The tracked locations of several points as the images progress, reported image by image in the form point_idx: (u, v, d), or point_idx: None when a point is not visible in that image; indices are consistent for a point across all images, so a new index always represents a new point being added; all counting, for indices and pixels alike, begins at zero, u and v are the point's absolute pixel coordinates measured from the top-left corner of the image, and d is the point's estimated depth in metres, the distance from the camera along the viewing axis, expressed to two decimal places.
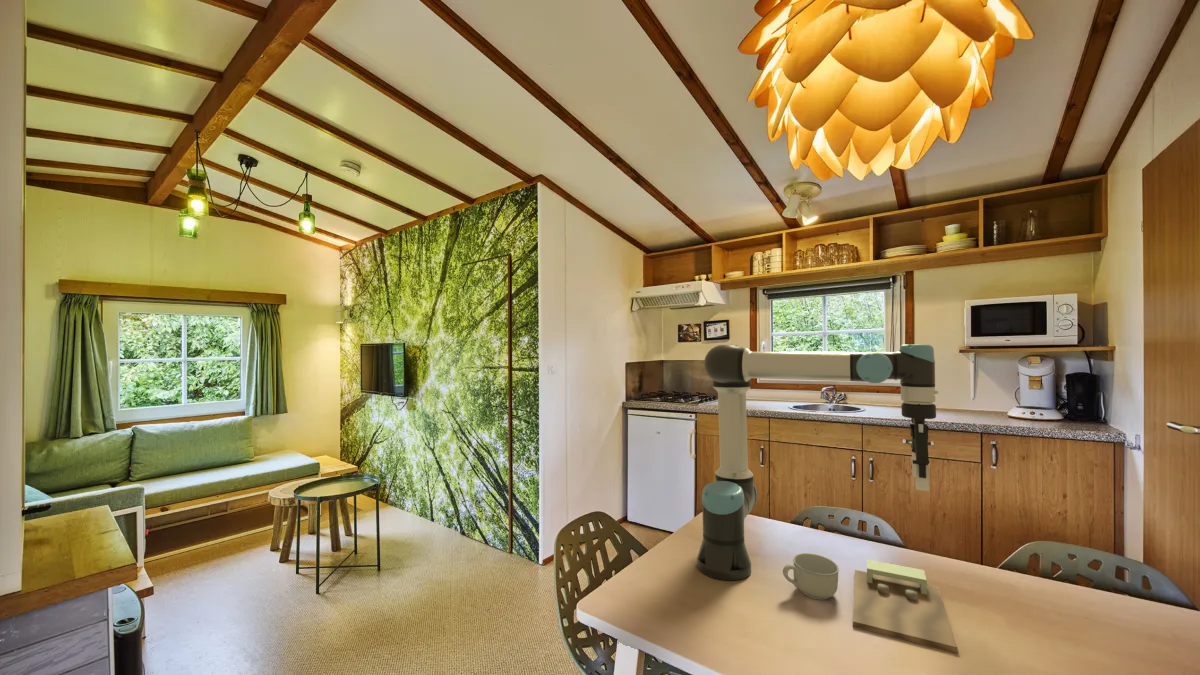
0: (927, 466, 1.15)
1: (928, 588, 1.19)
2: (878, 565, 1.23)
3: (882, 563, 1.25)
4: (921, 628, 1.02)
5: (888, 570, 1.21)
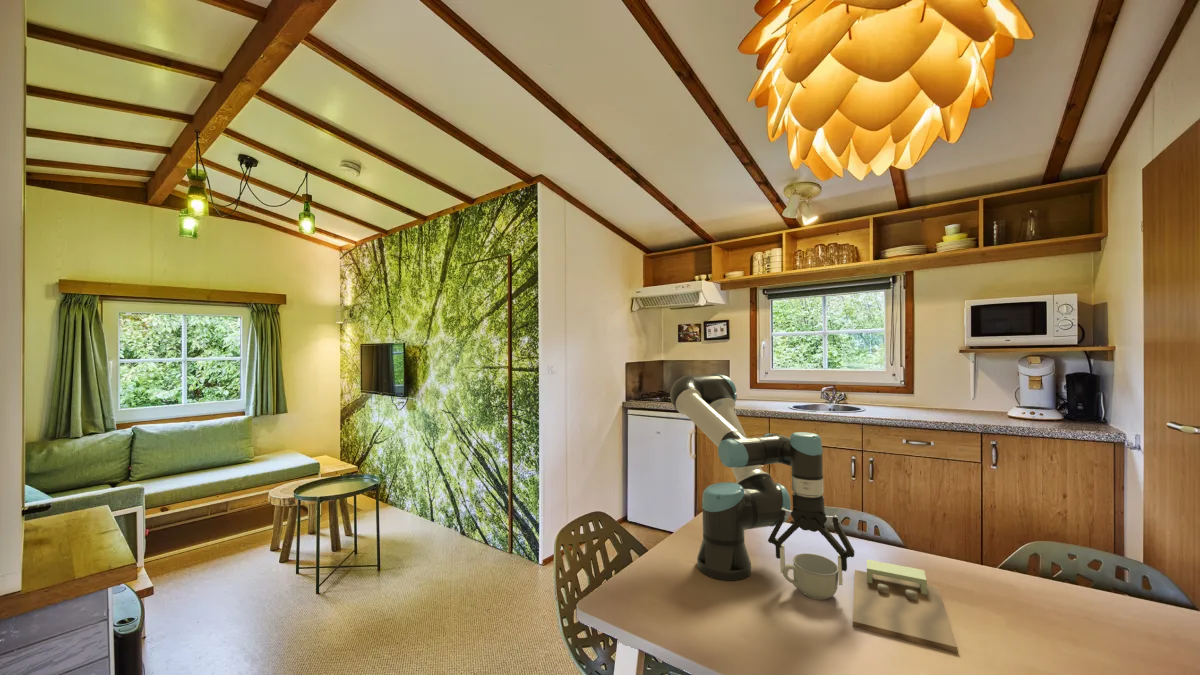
0: (779, 548, 1.22)
1: (928, 588, 1.19)
2: (878, 565, 1.23)
3: (882, 563, 1.25)
4: (921, 628, 1.02)
5: (888, 570, 1.21)
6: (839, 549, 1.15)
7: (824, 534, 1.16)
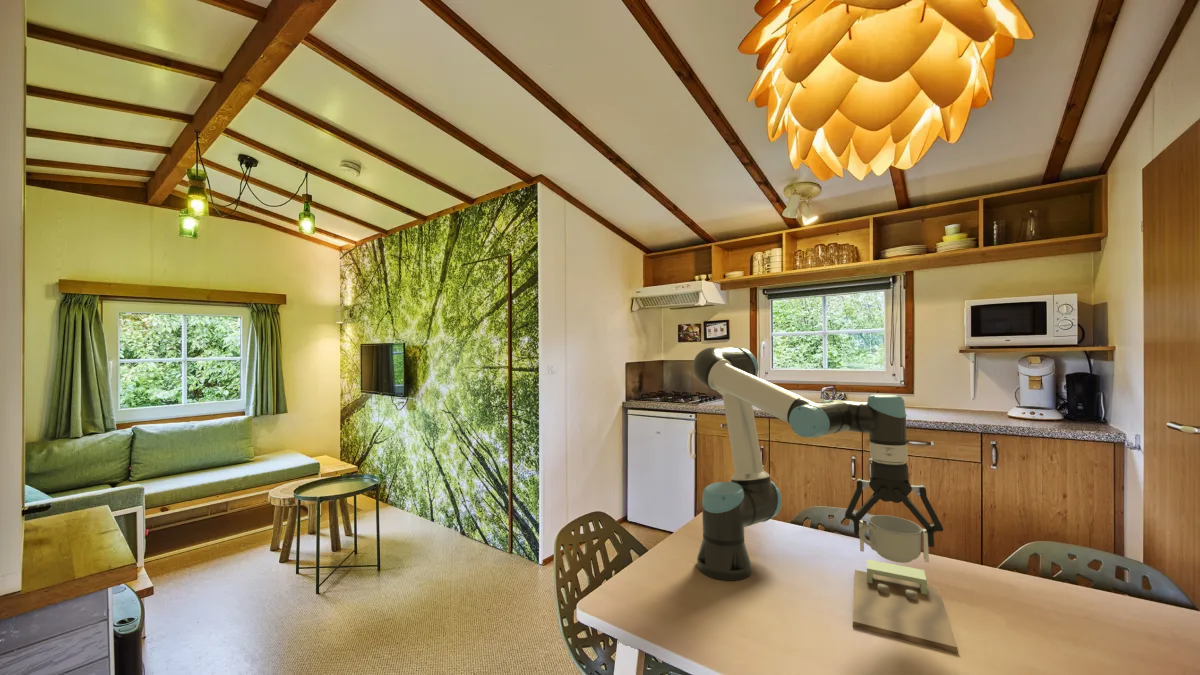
0: (858, 524, 1.10)
1: (928, 588, 1.19)
2: (878, 565, 1.23)
3: (882, 563, 1.25)
4: (921, 628, 1.02)
5: (888, 570, 1.21)
6: (925, 523, 1.03)
7: (908, 506, 1.05)
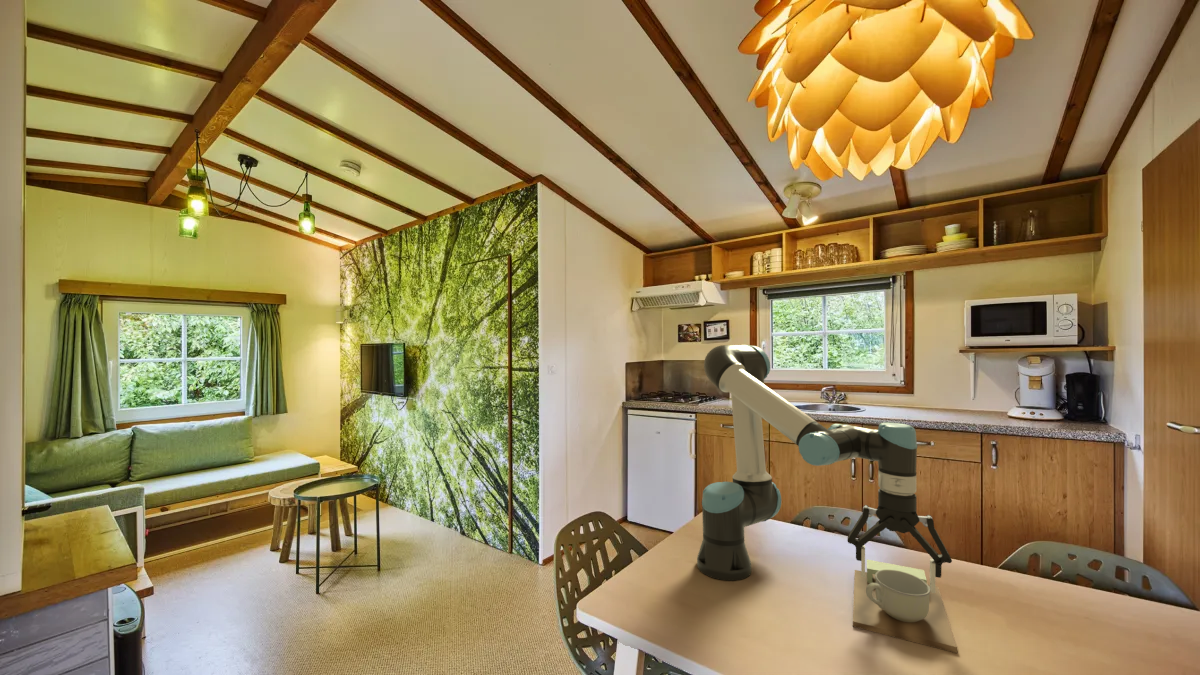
0: (861, 550, 1.10)
1: None
2: (878, 565, 1.23)
3: (882, 563, 1.25)
4: (921, 628, 1.02)
5: None
6: (933, 554, 1.03)
7: (916, 536, 1.04)
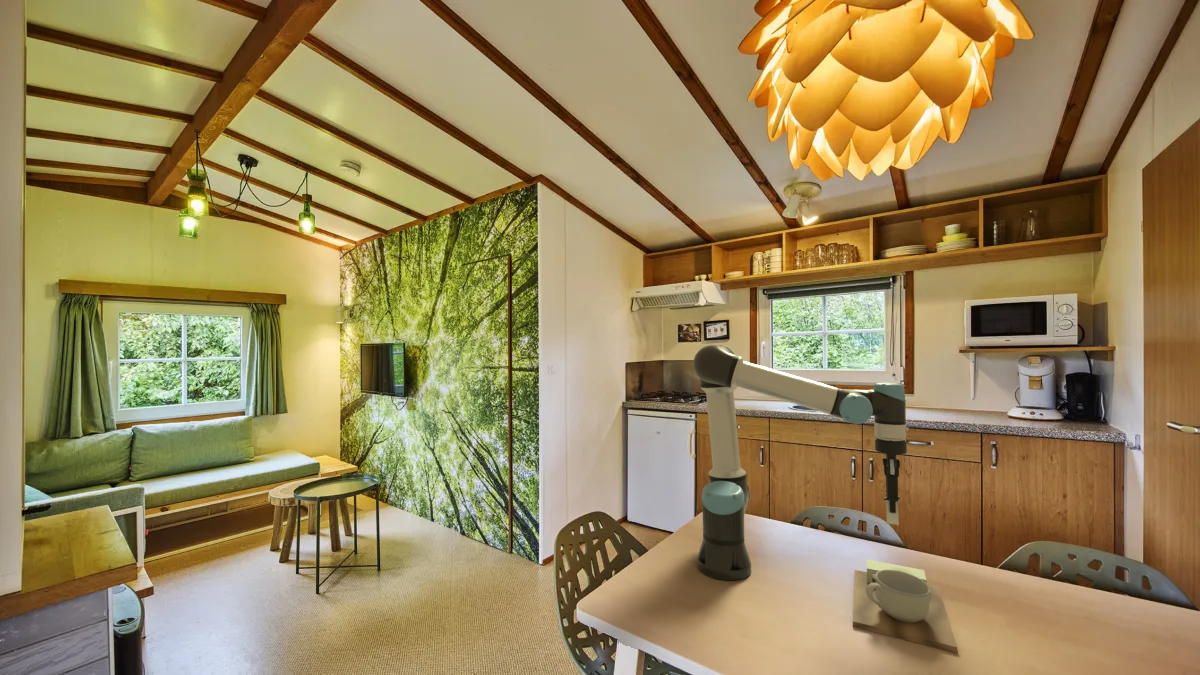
0: (897, 502, 1.27)
1: None
2: (878, 565, 1.23)
3: (882, 563, 1.25)
4: (921, 628, 1.02)
5: None
6: None
7: None
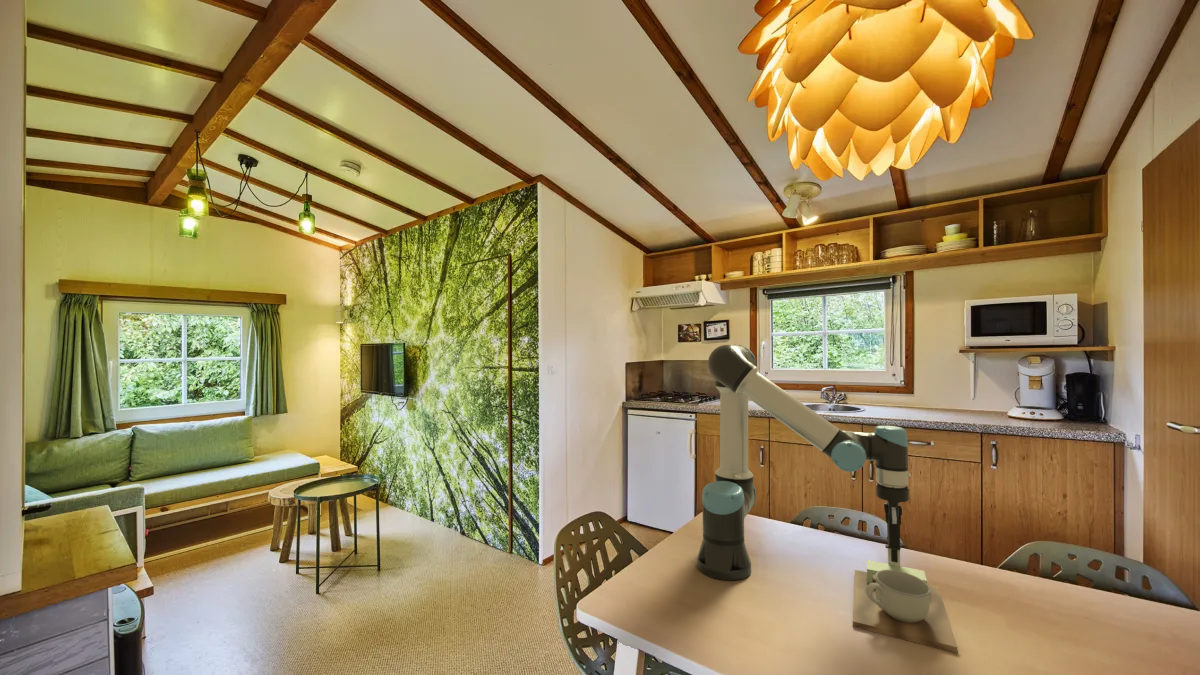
0: (898, 551, 1.23)
1: None
2: (878, 566, 1.23)
3: (882, 564, 1.24)
4: (921, 628, 1.02)
5: None
6: None
7: None
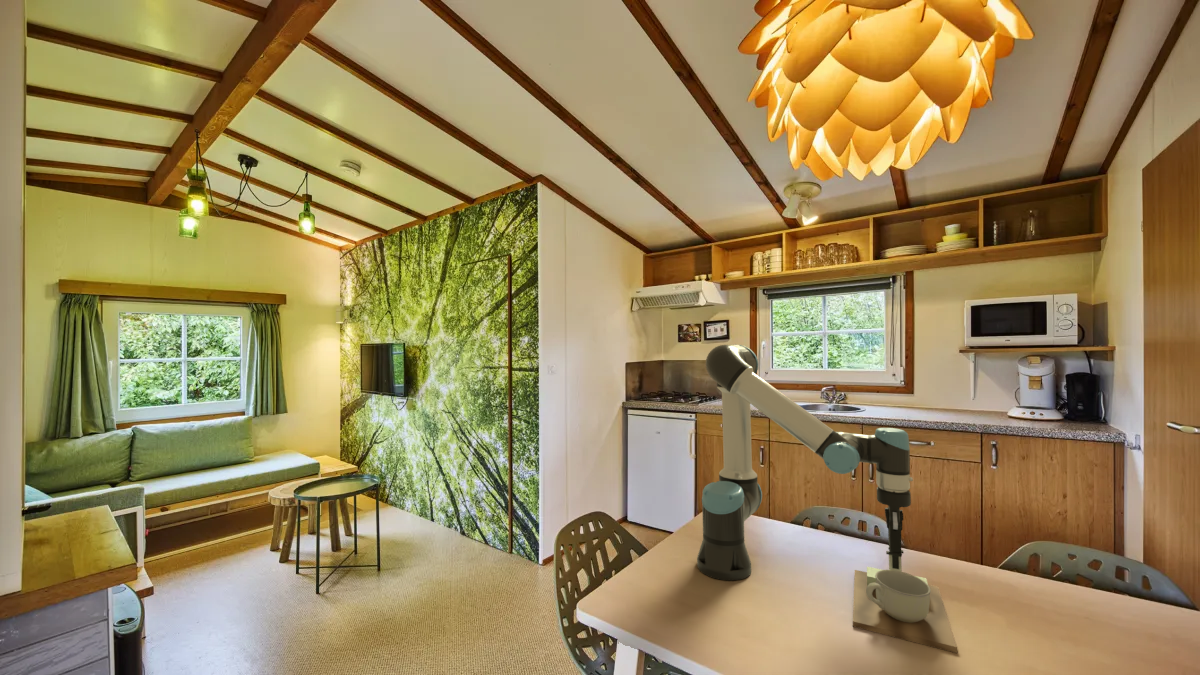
0: (900, 557, 1.19)
1: None
2: None
3: None
4: (921, 628, 1.02)
5: None
6: None
7: None
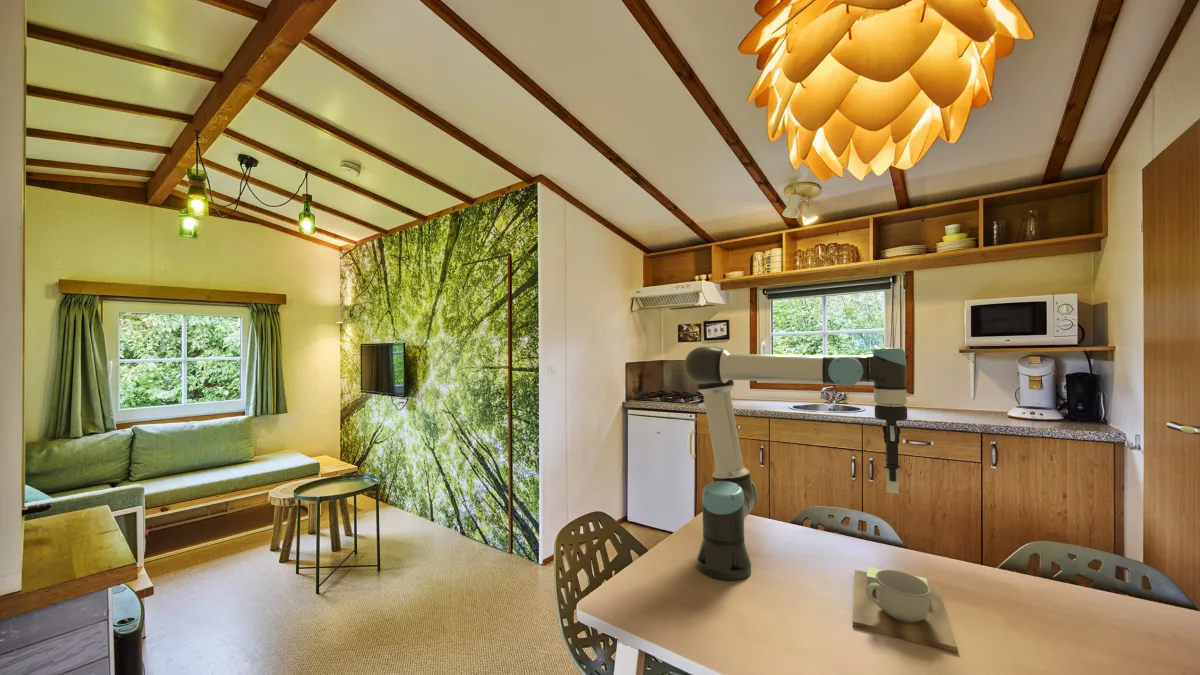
0: (897, 470, 1.23)
1: None
2: None
3: None
4: (921, 628, 1.02)
5: None
6: None
7: None
